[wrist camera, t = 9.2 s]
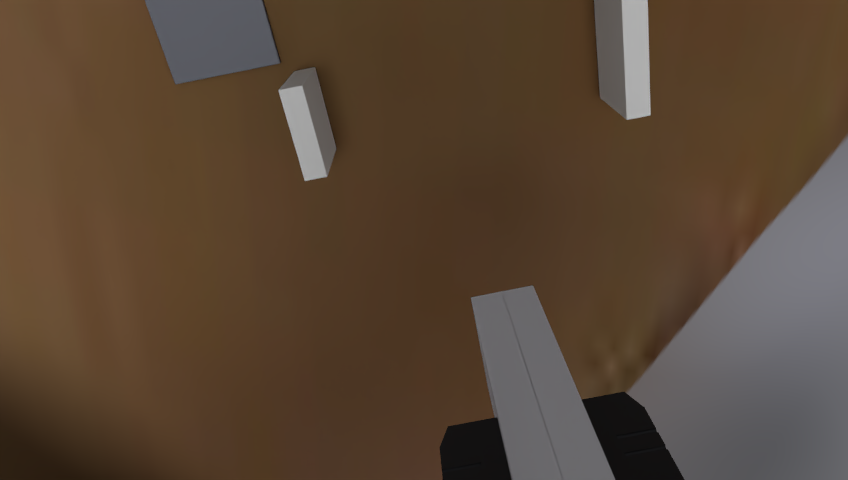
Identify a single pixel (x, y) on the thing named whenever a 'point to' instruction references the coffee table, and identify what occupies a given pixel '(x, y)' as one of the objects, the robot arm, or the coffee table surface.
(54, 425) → the coffee table surface
